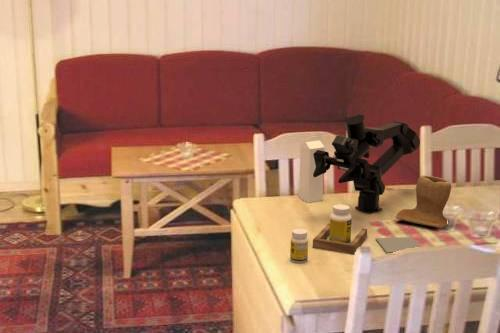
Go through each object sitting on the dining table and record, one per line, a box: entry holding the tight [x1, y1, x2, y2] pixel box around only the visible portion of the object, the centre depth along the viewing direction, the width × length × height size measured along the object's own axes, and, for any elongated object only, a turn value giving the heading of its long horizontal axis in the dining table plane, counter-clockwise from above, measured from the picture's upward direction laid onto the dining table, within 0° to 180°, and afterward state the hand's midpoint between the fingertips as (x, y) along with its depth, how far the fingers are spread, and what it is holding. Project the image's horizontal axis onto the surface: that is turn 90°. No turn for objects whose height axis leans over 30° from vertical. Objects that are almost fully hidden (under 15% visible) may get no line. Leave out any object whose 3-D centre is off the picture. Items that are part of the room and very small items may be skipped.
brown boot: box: [395, 175, 452, 228], centre depth 232 cm, size 15×12×15 cm
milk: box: [298, 135, 326, 204], centre depth 253 cm, size 6×6×22 cm
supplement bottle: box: [289, 228, 309, 264], centre depth 202 cm, size 5×5×8 cm
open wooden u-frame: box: [312, 222, 368, 255], centre depth 216 cm, size 15×12×2 cm
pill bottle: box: [328, 203, 353, 243], centre depth 215 cm, size 6×6×11 cm
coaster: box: [375, 236, 422, 255], centre depth 214 cm, size 11×11×1 cm
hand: (326, 178), depth 223 cm, fingers open, 9 cm apart
